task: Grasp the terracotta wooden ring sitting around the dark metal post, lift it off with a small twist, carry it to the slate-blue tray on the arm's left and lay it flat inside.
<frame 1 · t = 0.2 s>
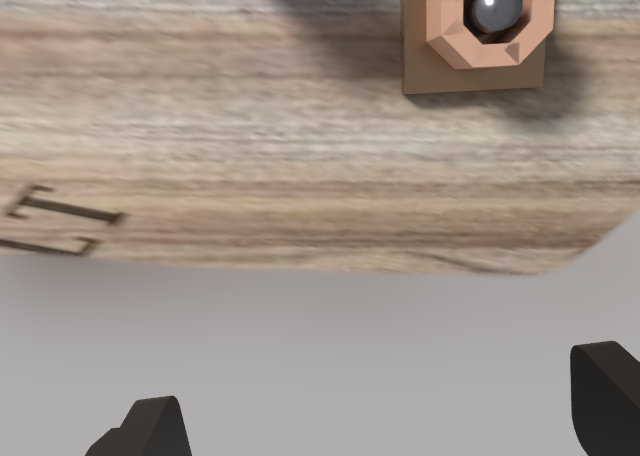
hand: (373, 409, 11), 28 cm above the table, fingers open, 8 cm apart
ring: (475, 17, 34), point 1 cm above the table, touching brown square stand
brown square stand: (469, 20, 35), on the table
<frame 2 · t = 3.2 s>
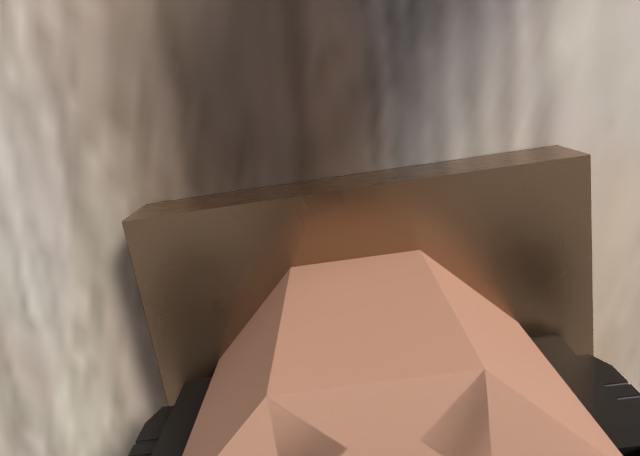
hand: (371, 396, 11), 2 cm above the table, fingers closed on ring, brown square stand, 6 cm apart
ring: (373, 395, 11), point 2 cm above the table, touching gripper, brown square stand
brown square stand: (372, 359, 13), on the table
when the fingers open (2 cm above the table, at t = 10.3 s): ring drops 1 cm, resting on tray.
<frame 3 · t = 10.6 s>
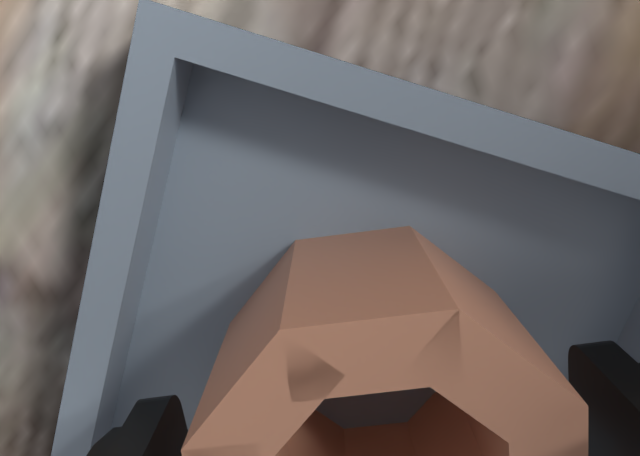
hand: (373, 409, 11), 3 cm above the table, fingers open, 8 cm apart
ring: (367, 356, 13), point 1 cm above the table, touching tray
tray: (364, 348, 13), on the table
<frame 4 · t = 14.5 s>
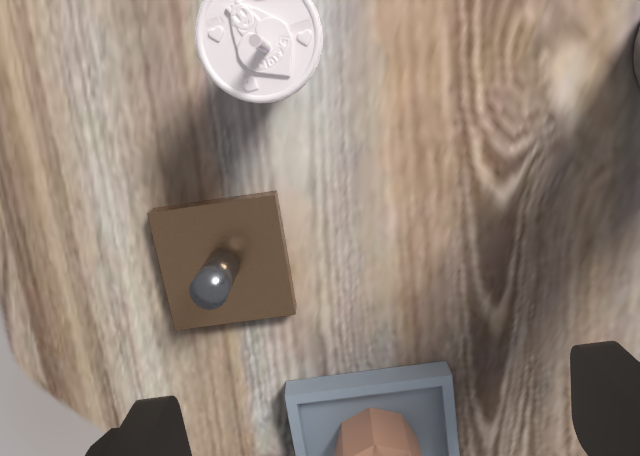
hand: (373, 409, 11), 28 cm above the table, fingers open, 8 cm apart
ring: (375, 443, 43), point 1 cm above the table, touching tray
smoothie: (275, 48, 36), on the table
brown square stand: (226, 258, 40), on the table
tray: (375, 439, 44), on the table
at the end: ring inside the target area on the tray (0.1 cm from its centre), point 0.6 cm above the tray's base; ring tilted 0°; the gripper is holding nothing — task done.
